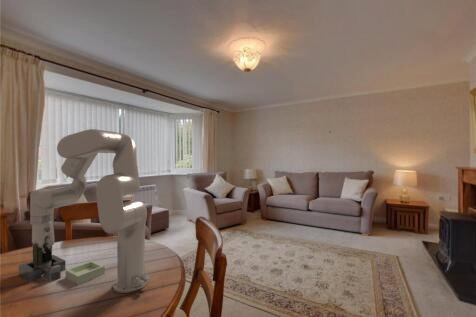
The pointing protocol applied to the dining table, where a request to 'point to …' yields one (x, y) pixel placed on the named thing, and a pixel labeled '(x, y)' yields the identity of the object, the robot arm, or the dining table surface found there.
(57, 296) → the dining table surface
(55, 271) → the grey stepped block
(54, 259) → the socket
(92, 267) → the tray
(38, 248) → the grenade
